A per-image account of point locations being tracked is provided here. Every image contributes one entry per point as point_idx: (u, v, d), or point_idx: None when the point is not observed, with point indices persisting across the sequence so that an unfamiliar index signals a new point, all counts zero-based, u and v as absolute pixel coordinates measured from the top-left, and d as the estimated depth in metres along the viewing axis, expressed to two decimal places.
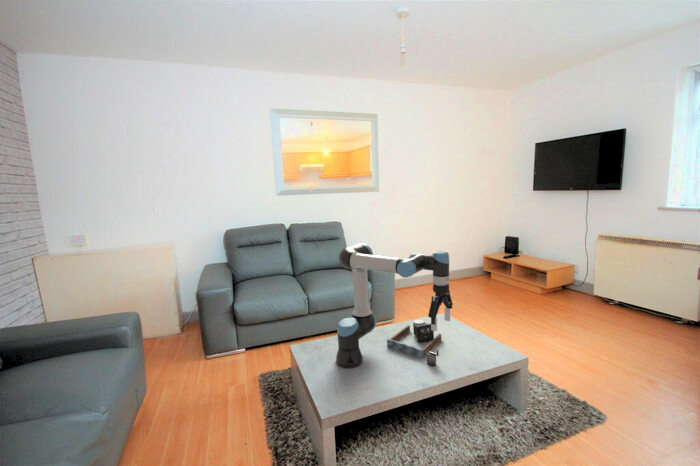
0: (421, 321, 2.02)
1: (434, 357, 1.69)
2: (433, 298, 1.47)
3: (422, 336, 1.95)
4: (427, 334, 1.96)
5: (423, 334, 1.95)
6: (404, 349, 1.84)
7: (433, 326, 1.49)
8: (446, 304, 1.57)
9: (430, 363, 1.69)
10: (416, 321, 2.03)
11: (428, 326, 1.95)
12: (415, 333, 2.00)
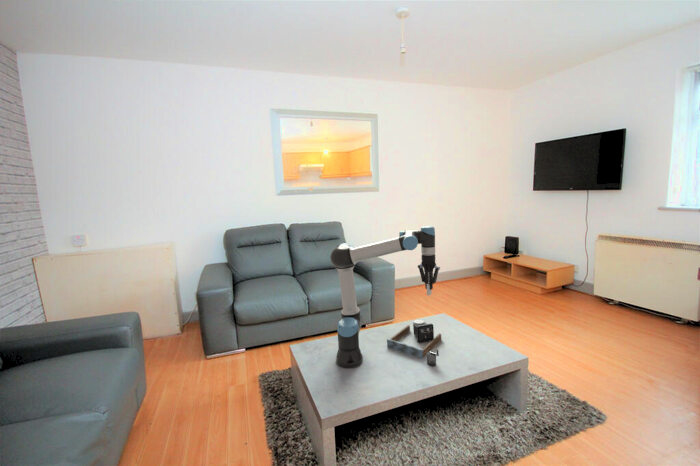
0: (421, 321, 2.02)
1: (434, 357, 1.69)
2: None
3: (422, 336, 1.95)
4: (427, 334, 1.96)
5: (423, 334, 1.95)
6: (404, 349, 1.84)
7: None
8: None
9: (430, 363, 1.69)
10: (416, 321, 2.03)
11: (428, 326, 1.95)
12: (415, 333, 2.00)
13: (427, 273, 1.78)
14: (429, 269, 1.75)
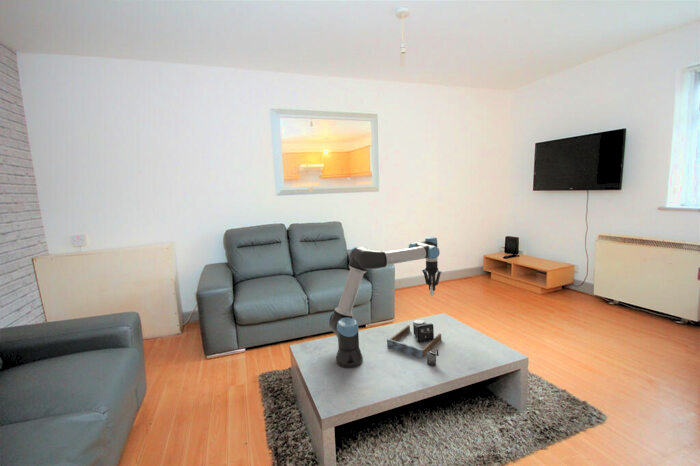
0: (421, 321, 2.02)
1: (434, 357, 1.69)
2: None
3: (422, 336, 1.95)
4: (427, 334, 1.96)
5: (423, 334, 1.95)
6: (404, 349, 1.84)
7: None
8: None
9: (430, 363, 1.69)
10: (416, 321, 2.03)
11: (428, 326, 1.95)
12: (415, 333, 2.00)
13: (430, 276, 2.09)
14: (432, 273, 2.06)
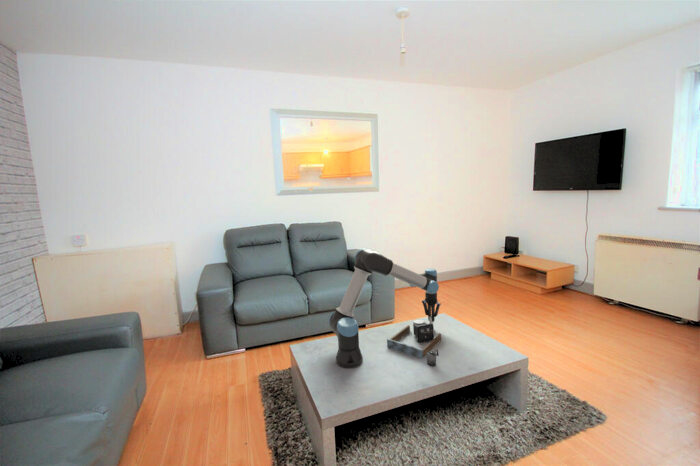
0: (421, 321, 2.02)
1: (434, 357, 1.69)
2: None
3: (422, 336, 1.95)
4: (427, 334, 1.95)
5: (423, 334, 1.95)
6: (404, 349, 1.84)
7: None
8: None
9: (430, 363, 1.69)
10: (416, 321, 2.03)
11: (428, 326, 1.95)
12: (415, 333, 2.00)
13: (430, 308, 2.11)
14: (432, 305, 2.08)
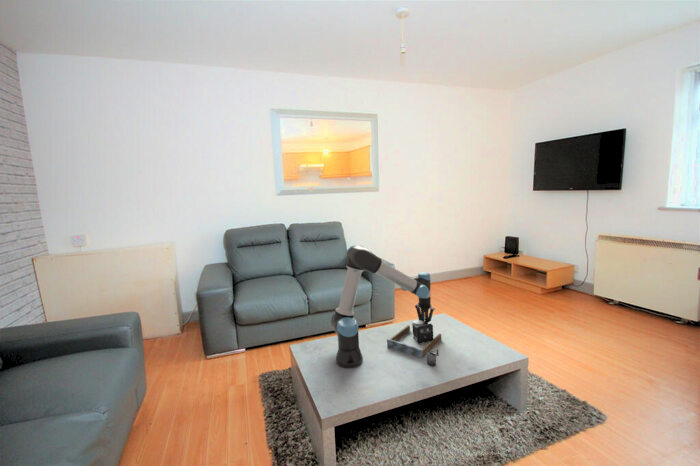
0: (420, 321, 2.01)
1: (434, 357, 1.69)
2: None
3: (422, 336, 1.94)
4: (427, 334, 1.95)
5: (423, 334, 1.94)
6: (404, 349, 1.84)
7: None
8: None
9: (430, 363, 1.69)
10: (415, 321, 2.02)
11: (428, 326, 1.95)
12: (414, 333, 1.99)
13: (423, 312, 2.04)
14: (425, 309, 2.01)
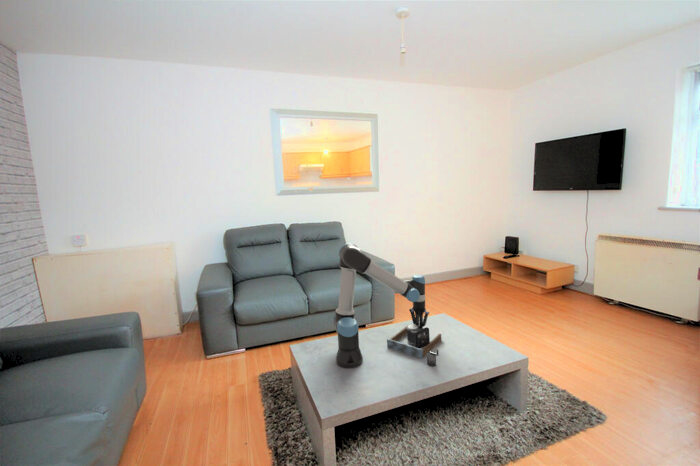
0: (415, 326, 1.95)
1: (434, 357, 1.69)
2: None
3: (419, 341, 1.88)
4: (424, 339, 1.90)
5: (420, 339, 1.88)
6: (404, 349, 1.84)
7: None
8: None
9: (430, 363, 1.69)
10: (410, 326, 1.95)
11: (424, 330, 1.90)
12: (410, 339, 1.92)
13: (418, 316, 1.98)
14: (419, 314, 1.95)
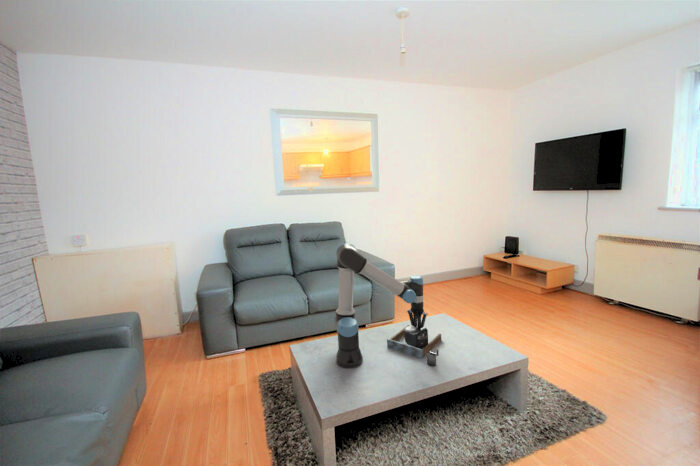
0: (413, 328, 1.93)
1: (434, 357, 1.69)
2: None
3: (419, 343, 1.86)
4: (423, 340, 1.88)
5: (420, 341, 1.87)
6: (404, 349, 1.84)
7: None
8: None
9: (430, 363, 1.69)
10: (408, 328, 1.93)
11: (423, 331, 1.88)
12: (409, 341, 1.90)
13: (416, 318, 1.96)
14: (418, 315, 1.93)
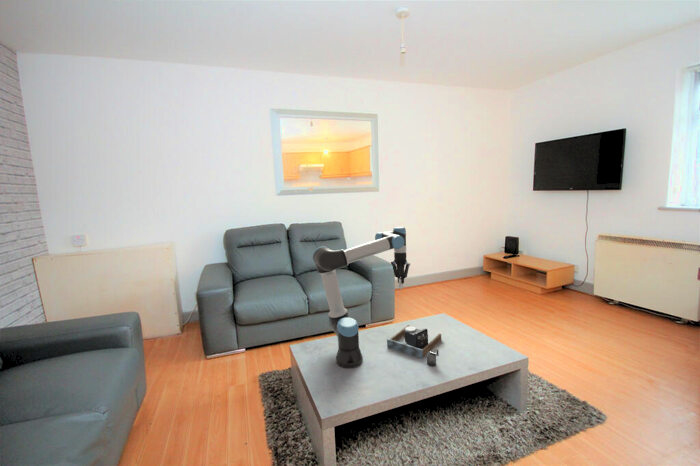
0: (413, 328, 1.93)
1: (434, 357, 1.69)
2: None
3: (419, 343, 1.86)
4: (423, 340, 1.88)
5: (420, 341, 1.87)
6: (404, 349, 1.84)
7: None
8: None
9: (430, 363, 1.69)
10: (408, 329, 1.93)
11: (423, 332, 1.88)
12: (409, 341, 1.90)
13: (399, 269, 1.98)
14: (401, 265, 1.95)
